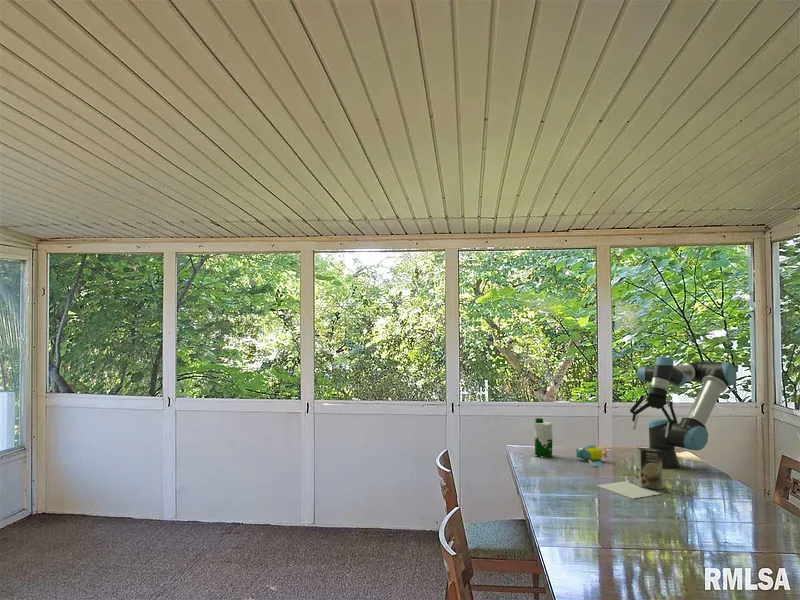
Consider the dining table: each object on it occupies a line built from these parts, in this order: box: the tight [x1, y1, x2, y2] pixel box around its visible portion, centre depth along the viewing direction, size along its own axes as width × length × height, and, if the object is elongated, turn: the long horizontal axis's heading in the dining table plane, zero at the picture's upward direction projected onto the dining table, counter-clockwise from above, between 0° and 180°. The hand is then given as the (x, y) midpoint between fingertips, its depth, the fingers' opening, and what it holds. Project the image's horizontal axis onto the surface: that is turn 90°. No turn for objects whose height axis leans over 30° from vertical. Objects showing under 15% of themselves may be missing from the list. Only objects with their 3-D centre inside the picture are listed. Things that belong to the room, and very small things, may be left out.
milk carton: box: [533, 417, 553, 458], centre depth 295 cm, size 9×9×20 cm
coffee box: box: [635, 447, 663, 490], centre depth 236 cm, size 9×6×16 cm
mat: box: [596, 480, 662, 500], centre depth 231 cm, size 16×20×1 cm
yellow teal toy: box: [575, 444, 608, 468], centre depth 283 cm, size 28×9×15 cm
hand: (649, 432), depth 248 cm, fingers open, 13 cm apart
